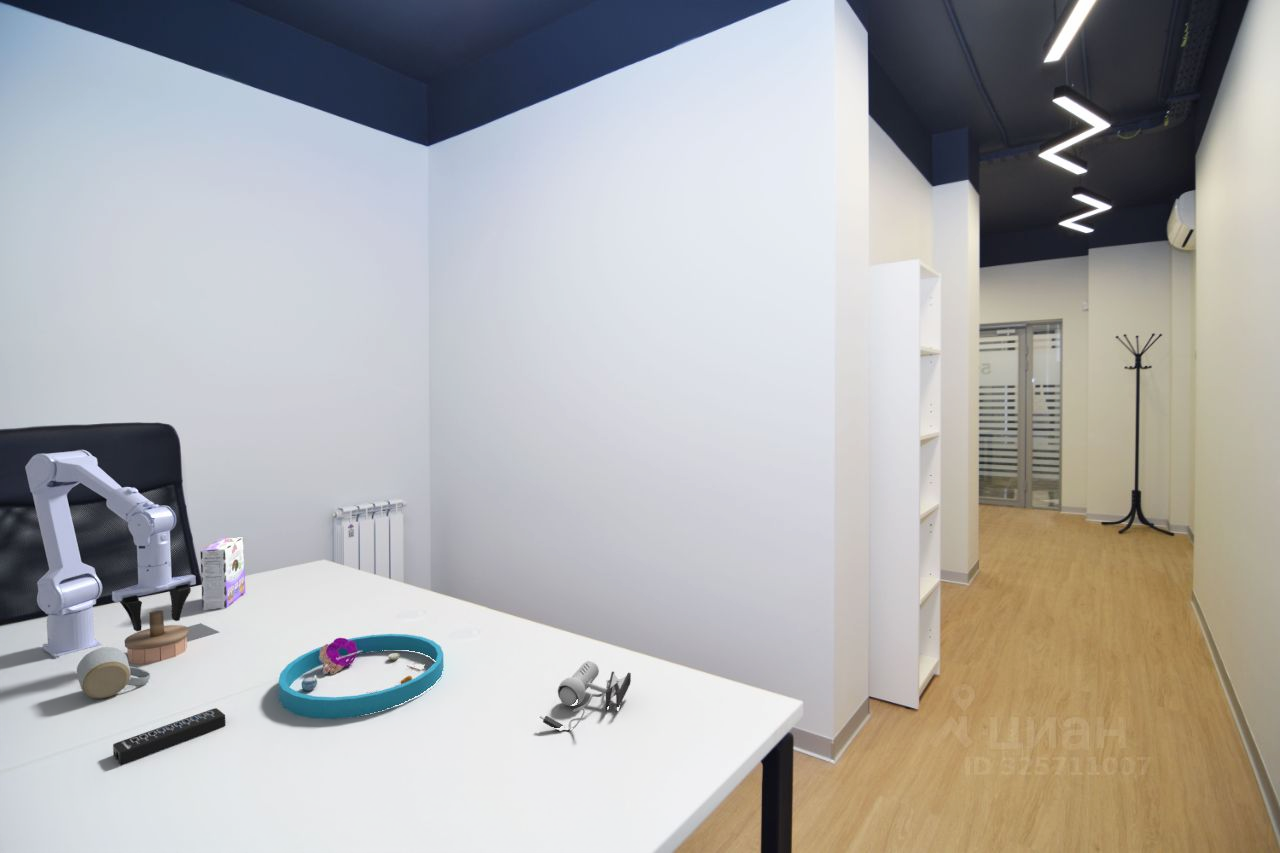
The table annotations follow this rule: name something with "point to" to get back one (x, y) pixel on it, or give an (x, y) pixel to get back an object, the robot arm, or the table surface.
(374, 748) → the table surface
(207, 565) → the candy box
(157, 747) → the multiport hub
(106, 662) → the ceramic mug
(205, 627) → the mat
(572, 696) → the clip-on lamp
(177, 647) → the bowl
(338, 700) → the teal ring
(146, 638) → the lid
